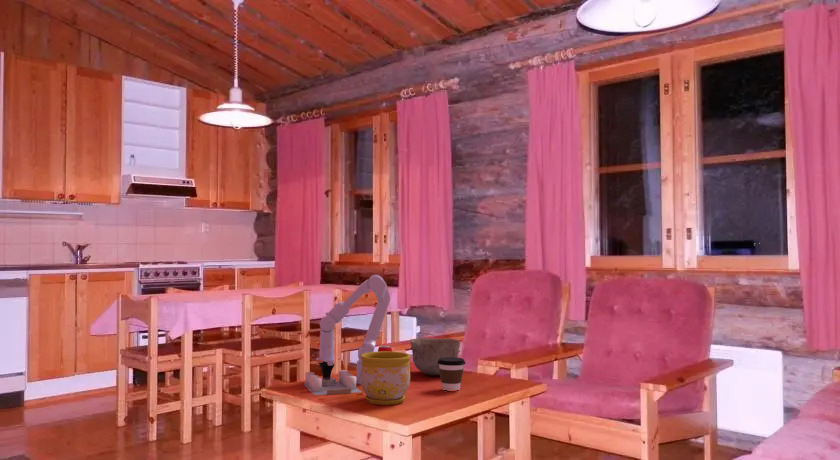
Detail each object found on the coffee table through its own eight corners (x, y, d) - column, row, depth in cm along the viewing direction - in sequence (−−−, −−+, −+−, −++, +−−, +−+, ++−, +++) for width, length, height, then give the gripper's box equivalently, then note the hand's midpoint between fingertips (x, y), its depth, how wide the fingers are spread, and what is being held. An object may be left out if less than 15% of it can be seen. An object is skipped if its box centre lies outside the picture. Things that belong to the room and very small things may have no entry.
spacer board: (347, 383, 267) (347, 369, 268) (362, 395, 246) (362, 380, 246) (302, 386, 261) (303, 372, 261) (314, 398, 240) (314, 383, 240)
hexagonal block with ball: (328, 383, 262) (328, 376, 262) (337, 385, 259) (337, 378, 259) (319, 385, 259) (319, 378, 259) (329, 387, 255) (329, 380, 255)
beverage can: (389, 375, 287) (390, 347, 287) (375, 374, 288) (376, 346, 288) (393, 372, 293) (393, 345, 293) (379, 372, 294) (380, 344, 294)
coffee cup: (469, 389, 260) (469, 358, 260) (459, 394, 250) (459, 362, 250) (443, 386, 264) (443, 356, 265) (432, 391, 254) (432, 360, 255)
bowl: (407, 370, 299) (407, 337, 299) (455, 370, 301) (455, 337, 302) (412, 379, 277) (412, 343, 277) (463, 379, 279) (464, 343, 280)
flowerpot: (416, 405, 231) (416, 358, 231) (365, 408, 226) (366, 359, 226) (402, 394, 248) (403, 350, 249) (355, 397, 243) (356, 352, 244)
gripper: (313, 344, 269) (312, 378, 268) (320, 349, 255) (320, 385, 255) (330, 343, 271) (329, 377, 271) (338, 348, 258) (338, 384, 257)
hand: (326, 381), depth 263 cm, fingers closed
